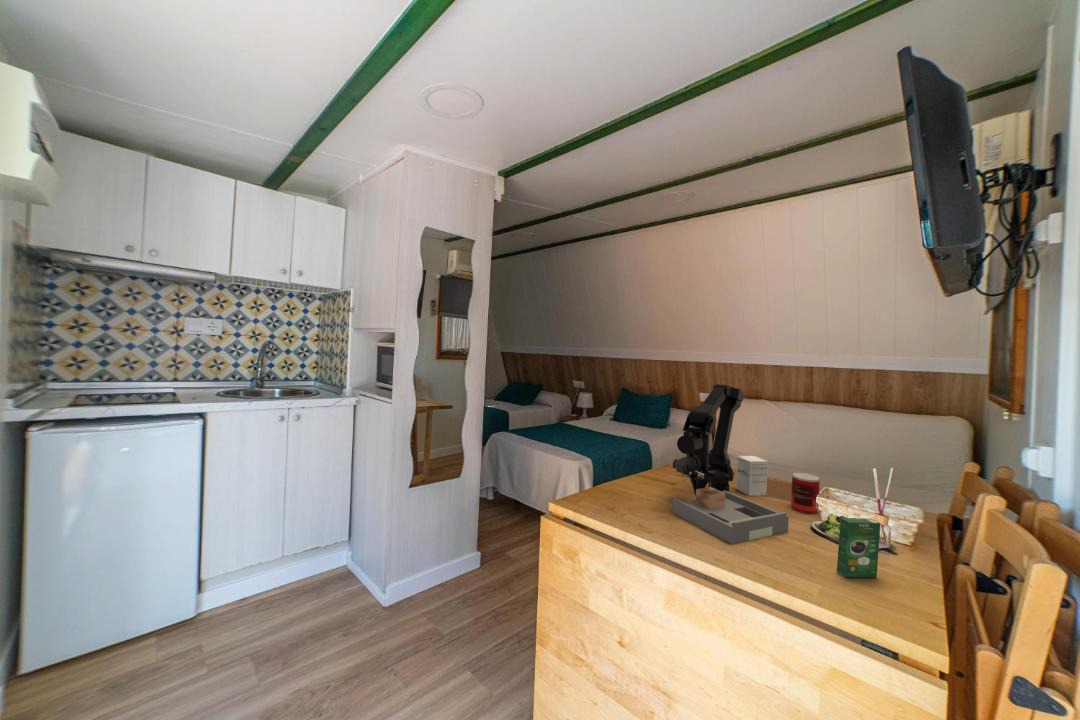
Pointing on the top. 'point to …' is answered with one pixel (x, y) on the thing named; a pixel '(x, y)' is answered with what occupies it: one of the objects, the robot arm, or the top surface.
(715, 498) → the block
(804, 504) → the canned food
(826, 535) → the salad plate
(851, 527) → the coffee box
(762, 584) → the top surface
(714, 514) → the box
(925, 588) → the top surface
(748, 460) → the supplement box
